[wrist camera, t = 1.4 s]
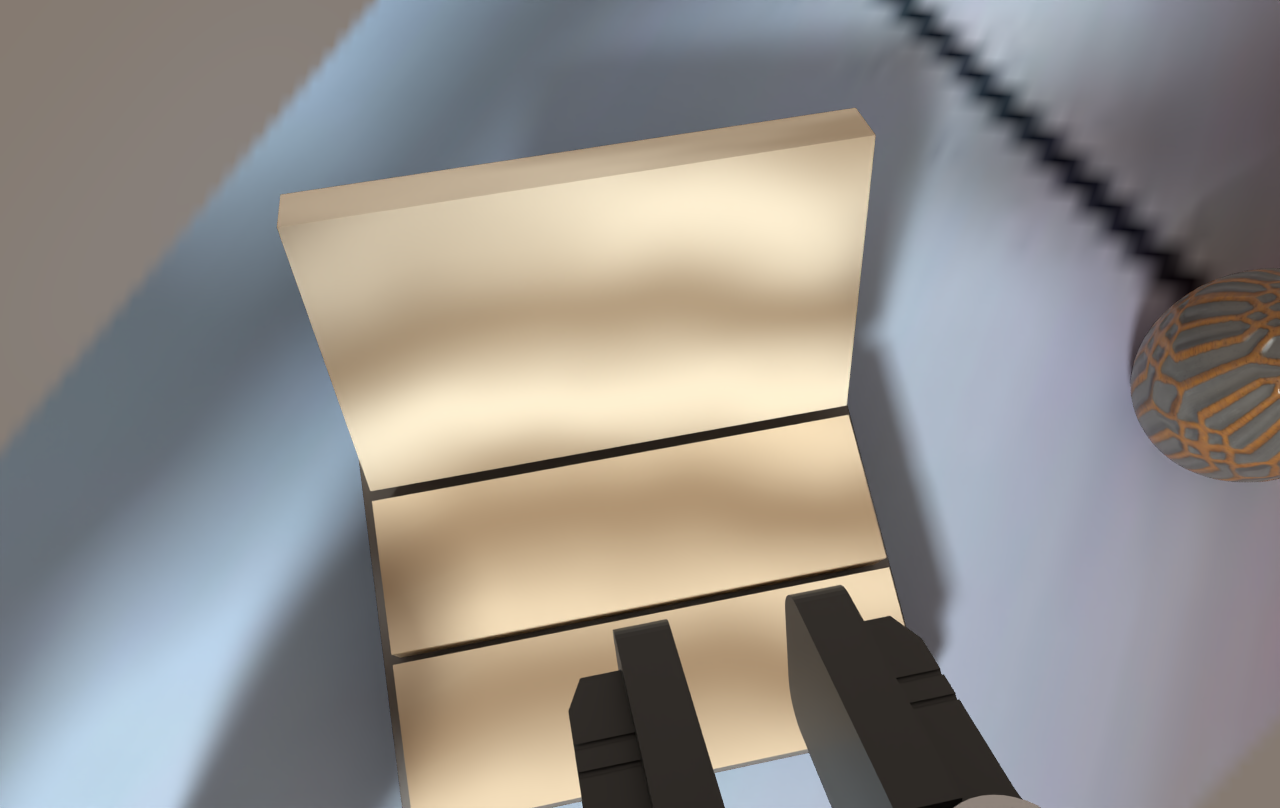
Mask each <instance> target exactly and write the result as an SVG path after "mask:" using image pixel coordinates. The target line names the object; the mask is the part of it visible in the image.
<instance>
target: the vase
mask: <svg viewBox="0 0 1280 808" xmlns="http://www.w3.org/2000/svg"><path fill="white" fill-rule="evenodd" d="M1131 397H1132V403H1133V407H1134V410H1135V413H1136V416H1137V418H1138V421H1139V423H1140V425H1141V427H1142V428H1143V430H1144V432H1145V433H1146V435H1147V436H1148V437H1149V439H1150V440H1151V441H1152V443H1153V444H1154V445H1155V446H1156V447H1157V448H1158V449H1159V450H1160V451H1161V452H1162V453H1163V454H1164V455H1166V456H1167V457H1168V458H1169V459H1171V460H1172V461H1173V462H1175V463H1177V464H1178V465H1180V466H1182V467H1183V468H1185V469H1188V470H1190V471H1192V472H1195V473H1197V474H1200V475H1203V476H1206V477H1209V478H1213V479H1218V480H1224V481H1232V482H1264V481H1270V480H1276V479H1280V268H1267V269H1257V270H1250V271H1245V272H1240V273H1236V274H1232V275H1228V276H1225V277H1222V278H1219V279H1216V280H1214V281H1211V282H1209V283H1207V284H1204V285H1202V286H1200V287H1198V288H1197V289H1195V290H1194V291H1192V292H1190V293H1189V294H1187V295H1186V296H1184V297H1183V298H1181V299H1180V300H1179V301H1178V302H1176V303H1175V304H1174V305H1172V306H1171V307H1170V308H1169V309H1168V310H1167V311H1166V312H1165V313H1164V314H1163V315H1162V316H1161V317H1160V318H1159V319H1158V320H1157V321H1156V322H1155V323H1154V324H1153V326H1152V327H1151V329H1150V330H1149V332H1148V333H1147V335H1146V336H1145V338H1144V340H1143V342H1142V344H1141V346H1140V348H1139V350H1138V352H1137V355H1136V358H1135V361H1134V364H1133V370H1132V376H1131Z"/></svg>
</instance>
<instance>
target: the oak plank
mask: <svg viewBox="0 0 1280 808" xmlns="http://www.w3.org/2000/svg"><path fill="white" fill-rule="evenodd" d="M875 136H876V135H875V134H874V132H873V131H872V129H871V128H870V127H869V125H868V124H867V123H866V121H865V120H864V119H863V117H862V116H861V114H860V113H859V112H858V110H857V109H856V108H851V109H844V110H837V111H831V112H824V113H818V114H811V115H804V116H798V117H791V118H784V119H778V120H771V121H765V122H758V123H751V124H745V125H738V126H732V127H725V128H718V129H712V130H705V131H698V132H692V133H685V134H679V135H672V136H665V137H659V138H652V139H646V140H639V141H632V142H626V143H619V144H612V145H606V146H599V147H593V148H586V149H579V150H573V151H566V152H560V153H553V154H546V155H540V156H533V157H527V158H520V159H513V160H507V161H500V162H493V163H487V164H480V165H474V166H467V167H460V168H454V169H447V170H441V171H434V172H427V173H421V174H414V175H407V176H401V177H394V178H388V179H381V180H374V181H368V182H361V183H355V184H348V185H341V186H335V187H328V188H321V189H315V190H308V191H302V192H295V193H288V194H282V195H280V204H279V213H278V222H277V229H278V232H279V235H280V238H281V240H282V243H283V246H284V249H285V252H286V255H287V257H288V260H289V263H290V266H291V269H292V272H293V274H294V277H295V280H296V283H297V286H298V288H299V291H300V294H301V297H302V300H303V303H304V305H305V308H306V311H307V314H308V317H309V319H310V322H311V325H312V328H313V331H314V334H315V336H316V339H317V342H318V345H319V348H320V350H321V353H322V356H323V359H324V362H325V365H326V367H327V370H328V373H329V376H330V379H331V382H332V384H333V387H334V390H335V393H336V396H337V398H338V401H339V404H340V407H341V410H342V413H343V415H344V418H345V421H346V424H347V427H348V429H349V432H350V435H351V438H352V441H353V444H354V446H355V449H356V452H357V455H358V458H359V461H360V463H361V466H362V469H363V472H364V475H365V477H366V480H367V483H368V486H369V489H370V491H375V490H381V489H386V488H392V487H397V486H403V485H408V484H414V483H419V482H425V481H431V480H436V479H442V478H447V477H453V476H458V475H464V474H469V473H475V472H480V471H486V470H491V469H497V468H503V467H508V466H514V465H519V464H525V463H530V462H536V461H541V460H547V459H552V458H558V457H564V456H569V455H575V454H580V453H586V452H591V451H597V450H602V449H608V448H613V447H619V446H625V445H630V444H636V443H641V442H647V441H652V440H658V439H663V438H669V437H674V436H680V435H686V434H691V433H697V432H702V431H708V430H713V429H719V428H724V427H730V426H735V425H741V424H747V423H752V422H758V421H763V420H769V419H774V418H780V417H785V416H791V415H796V414H802V413H807V412H813V411H819V410H824V409H830V408H835V407H841V406H846V405H847V398H848V388H849V379H850V370H851V360H852V351H853V342H854V332H855V323H856V314H857V304H858V295H859V286H860V276H861V267H862V258H863V248H864V239H865V230H866V220H867V211H868V202H869V192H870V183H871V174H872V164H873V155H874V146H875Z"/></svg>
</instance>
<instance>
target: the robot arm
mask: <svg viewBox="0 0 1280 808" xmlns="http://www.w3.org/2000/svg"><path fill="white" fill-rule="evenodd" d="M785 619H786V638H787V658H788V677H789V688H790V695H791V700H792V705H793V709H794V713H795V717H796V720H797V723H798V726H799V729H800V732H801V734H802V737H803V739H804V742H805V744H806V746H807V749H808V751H809V754H810V756H811V758H812V761H813V763H814V766H815V768H816V771H817V773H818V775H819V778H820V780H821V783H822V785H823V787H824V790H825V792H826V795H827V797H828V800H829V802H830V804H831V807H832V808H1041V807H1039V806H1037V805H1035V804H1033V803H1030V802H1028V801H1026V800H1023V799H1022V798H1021V797H1020V796H1019V794H1018V793H1017V791H1016V790H1015V789H1014V787H1013V786H1012V784H1011V782H1010V781H1009V779H1008V777H1007V776H1006V774H1005V773H1004V771H1003V769H1002V768H1001V766H1000V764H999V763H998V761H997V760H996V758H995V756H994V755H993V753H992V752H991V750H990V748H989V747H988V745H987V743H986V742H985V740H984V739H983V737H982V735H981V734H980V732H979V731H978V729H977V727H976V726H975V724H974V722H973V721H972V719H971V718H970V716H969V714H968V713H967V711H966V710H965V708H964V706H963V705H962V703H961V701H960V700H957V698H956V695H955V692H954V690H953V689H952V687H951V685H950V684H949V682H948V680H947V679H946V677H945V676H944V675H942V674H941V671H940V668H939V666H938V664H937V663H936V661H935V659H934V658H933V656H932V655H931V653H930V651H929V650H928V648H927V646H926V645H925V643H924V642H923V640H922V639H921V638H920V637H919V636H917V635H916V634H915V633H913V632H912V631H910V630H909V629H908V628H906V627H905V626H904V625H902V624H901V623H900V622H898V621H897V620H895V619H894V618H893V617H891V616H886V617H881V618H876V619H871V620H866V621H864V620H863V618H862V616H861V615H860V613H859V611H858V609H857V607H856V606H855V604H854V602H853V600H852V598H851V597H850V595H849V593H848V591H847V590H846V589H845V587H844V586H842V585H836V586H831V587H826V588H821V589H816V590H811V591H806V592H801V593H796V594H791V595H787V596H786V599H785ZM613 638H614V645H615V651H616V657H617V664H618V671H613V672H608V673H603V674H598V675H593V676H588V677H583V678H580V680H579V683H578V685H577V688H576V691H575V694H574V696H573V699H572V702H571V705H570V708H569V710H568V713H569V719H570V726H571V732H572V739H573V745H574V751H575V759H576V765H577V772H578V778H579V785H580V791H581V798H582V805H583V808H725V807H724V803H723V800H722V797H721V793H720V790H719V787H718V784H717V780H716V777H715V774H714V770H713V767H712V764H711V760H710V757H709V754H708V750H707V747H706V744H705V740H704V737H703V734H702V730H701V727H700V724H699V720H698V717H697V714H696V711H695V707H694V704H693V701H692V697H691V694H690V691H689V687H688V684H687V681H686V677H685V674H684V671H683V667H682V664H681V661H680V657H679V654H678V651H677V647H676V644H675V641H674V637H673V634H672V631H671V628H670V624H669V622H668V620H667V619H664V620H659V621H654V622H649V623H644V624H639V625H634V626H628V627H623V628H618V629H613Z"/></svg>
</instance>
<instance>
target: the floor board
mask: <svg viewBox="0 0 1280 808" xmlns="http://www.w3.org/2000/svg"><path fill="white" fill-rule="evenodd" d="M359 465H360V473H361V481H362V489H363V497H364V505H365V513H366V521H367V529H368V537H369V545H370V553H371V561H372V569H373V577H374V585H375V593H376V601H377V609H378V618H379V626H380V634H381V642H382V650H383V658H384V666H385V674H386V682H387V690H388V698H389V706H390V714H391V722H392V730H393V738H394V746H395V754H396V762H397V770H398V778H399V786H400V794H401V802H402V808H553V807H557V806H562V805H567V804H571V803H576V802H581V801H582V798H581V791H580V785H579V778H578V772H577V765H576V759H575V751H574V745H573V739H572V732H571V726H570V719H569V713H568V710H569V708H570V705H571V702H572V699H573V696H574V694H575V691H576V688H577V685H578V683H579V680H580V678H583V677H588V676H593V675H598V674H603V673H608V672H613V671H618V664H617V657H616V651H615V645H614V638H613V629H618V628H623V627H628V626H634V625H639V624H644V623H649V622H654V621H659V620H664V619H667V620H668V622H669V624H670V628H671V631H672V634H673V637H674V641H675V644H676V647H677V651H678V654H679V657H680V661H681V664H682V667H683V671H684V674H685V677H686V681H687V684H688V687H689V691H690V694H691V697H692V701H693V704H694V707H695V711H696V714H697V717H698V720H699V724H700V727H701V730H702V734H703V737H704V740H705V744H706V747H707V750H708V754H709V757H710V760H711V764H712V767H713V770H714V773H716V772H721V771H726V770H731V769H735V768H740V767H745V766H749V765H754V764H759V763H763V762H768V761H773V760H777V759H782V758H787V757H791V756H796V755H801V754H805V753H809V751H808V749H807V746H806V744H805V742H804V739H803V737H802V734H801V732H800V729H799V726H798V723H797V720H796V717H795V713H794V709H793V705H792V700H791V695H790V688H789V677H788V658H787V638H786V619H785V599H786V596H787V595H791V594H796V593H801V592H806V591H811V590H816V589H821V588H826V587H831V586H836V585H842V586H844V587H845V589H846V590H847V591H848V593H849V595H850V597H851V598H852V600H853V602H854V604H855V606H856V607H857V609H858V611H859V613H860V615H861V616H862V618H863V620H864V621H866V620H871V619H876V618H881V617H886V616H891V617H893V618H894V619H895V620H897V621H898V622H900V623H901V624H902V625H904V626H905V627H906V625H905V621H904V617H903V613H902V610H901V606H900V602H899V598H898V594H897V591H896V587H895V583H894V579H893V576H892V572H891V568H890V564H889V561H888V557H887V553H886V549H885V546H884V542H883V538H882V534H881V530H880V527H879V523H878V519H877V515H876V512H875V508H874V504H873V500H872V497H871V493H870V489H869V485H868V482H867V478H866V474H865V470H864V466H863V463H862V459H861V455H860V451H859V448H858V444H857V440H856V436H855V433H854V429H853V425H852V421H851V417H850V414H849V410H848V406H847V405H846V406H841V407H835V408H830V409H824V410H819V411H813V412H807V413H802V414H796V415H791V416H785V417H780V418H774V419H769V420H763V421H758V422H752V423H747V424H741V425H735V426H730V427H724V428H719V429H713V430H708V431H702V432H697V433H691V434H686V435H680V436H674V437H669V438H663V439H658V440H652V441H647V442H641V443H636V444H630V445H625V446H619V447H613V448H608V449H602V450H597V451H591V452H586V453H580V454H575V455H569V456H564V457H558V458H552V459H547V460H541V461H536V462H530V463H525V464H519V465H514V466H508V467H503V468H497V469H491V470H486V471H480V472H475V473H469V474H464V475H458V476H453V477H447V478H442V479H436V480H431V481H425V482H419V483H414V484H408V485H403V486H397V487H392V488H386V489H381V490H375V491H370V489H369V486H368V483H367V480H366V477H365V475H364V472H363V469H362V466H361V463H360V461H359Z"/></svg>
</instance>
